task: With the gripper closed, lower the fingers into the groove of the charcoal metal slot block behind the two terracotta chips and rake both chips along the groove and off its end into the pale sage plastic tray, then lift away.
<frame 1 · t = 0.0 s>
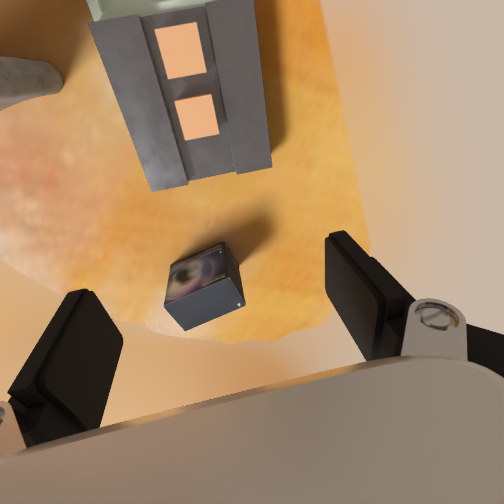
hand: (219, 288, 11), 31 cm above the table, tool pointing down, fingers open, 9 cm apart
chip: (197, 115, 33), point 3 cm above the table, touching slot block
small box: (204, 264, 48), on the table
slot block: (195, 103, 34), on the table
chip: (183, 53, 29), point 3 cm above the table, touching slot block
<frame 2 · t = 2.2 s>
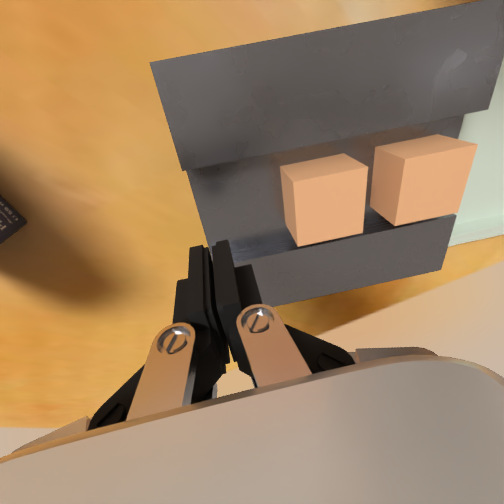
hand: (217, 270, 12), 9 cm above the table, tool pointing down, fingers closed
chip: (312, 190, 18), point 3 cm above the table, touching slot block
slot block: (312, 173, 20), on the table
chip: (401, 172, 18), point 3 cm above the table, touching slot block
tray: (497, 135, 21), on the table
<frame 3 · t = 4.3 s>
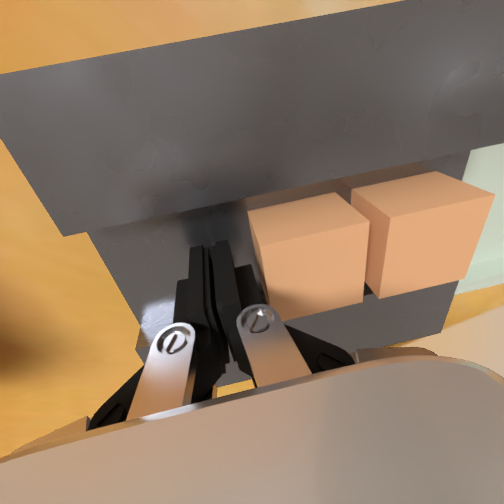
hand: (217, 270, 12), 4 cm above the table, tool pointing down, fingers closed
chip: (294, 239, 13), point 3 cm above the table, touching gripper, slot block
slot block: (275, 214, 16), on the table
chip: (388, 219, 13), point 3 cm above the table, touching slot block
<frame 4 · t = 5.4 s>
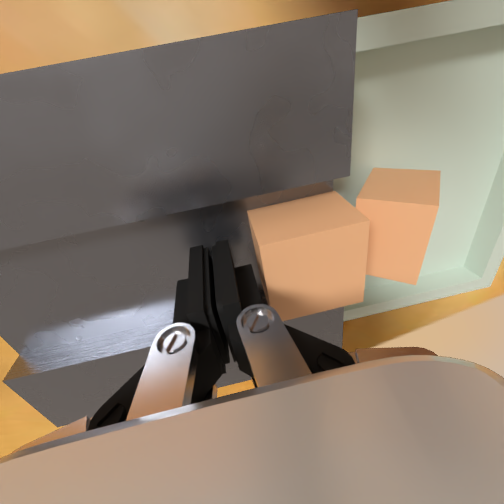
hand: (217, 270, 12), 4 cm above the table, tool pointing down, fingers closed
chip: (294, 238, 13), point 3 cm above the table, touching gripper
slot block: (166, 238, 15), on the table
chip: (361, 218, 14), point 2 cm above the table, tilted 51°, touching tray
tray: (410, 185, 16), on the table
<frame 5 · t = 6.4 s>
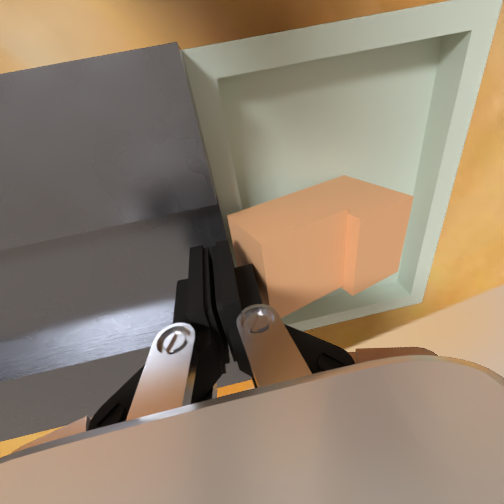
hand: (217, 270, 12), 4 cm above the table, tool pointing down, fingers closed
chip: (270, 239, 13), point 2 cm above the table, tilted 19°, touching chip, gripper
slot block: (75, 258, 15), on the table
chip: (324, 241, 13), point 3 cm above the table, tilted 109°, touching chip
tray: (327, 203, 16), on the table
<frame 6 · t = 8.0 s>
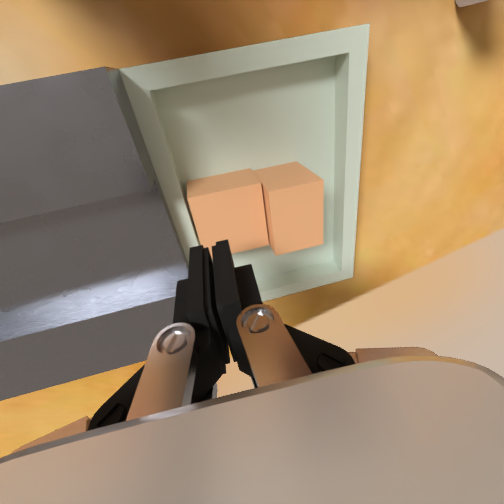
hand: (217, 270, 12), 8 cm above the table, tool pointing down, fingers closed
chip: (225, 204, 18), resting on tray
slot block: (44, 243, 17), on the table
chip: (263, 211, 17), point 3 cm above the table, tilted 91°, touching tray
tray: (262, 192, 19), on the table
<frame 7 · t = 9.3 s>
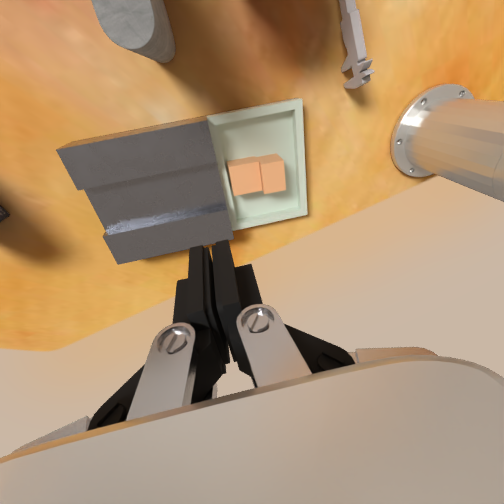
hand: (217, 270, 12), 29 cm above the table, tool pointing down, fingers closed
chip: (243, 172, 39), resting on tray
slot block: (161, 188, 39), on the table
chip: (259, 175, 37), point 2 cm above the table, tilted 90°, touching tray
tray: (260, 168, 39), on the table
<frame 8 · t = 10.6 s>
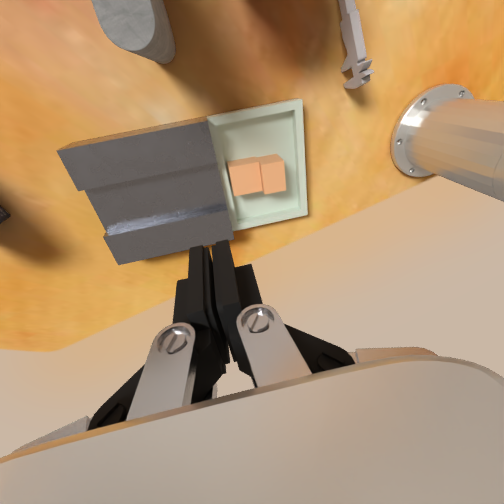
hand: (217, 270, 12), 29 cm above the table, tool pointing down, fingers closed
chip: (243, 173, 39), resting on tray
slot block: (161, 189, 39), on the table
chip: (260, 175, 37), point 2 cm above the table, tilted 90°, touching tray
tray: (260, 168, 39), on the table
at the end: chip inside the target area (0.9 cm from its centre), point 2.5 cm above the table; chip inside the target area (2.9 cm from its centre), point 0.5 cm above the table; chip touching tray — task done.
